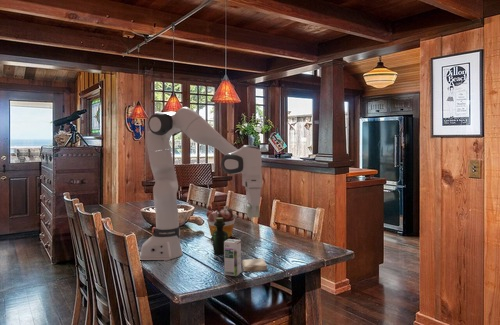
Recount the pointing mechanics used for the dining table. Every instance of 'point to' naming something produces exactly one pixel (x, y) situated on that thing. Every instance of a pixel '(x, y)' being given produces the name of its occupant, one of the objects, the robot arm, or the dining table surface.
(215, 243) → the potion bottle
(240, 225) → the dining table surface
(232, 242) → the syrup box
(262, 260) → the maple board
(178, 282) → the dining table surface
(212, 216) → the bucket of meat
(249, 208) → the sage cube
